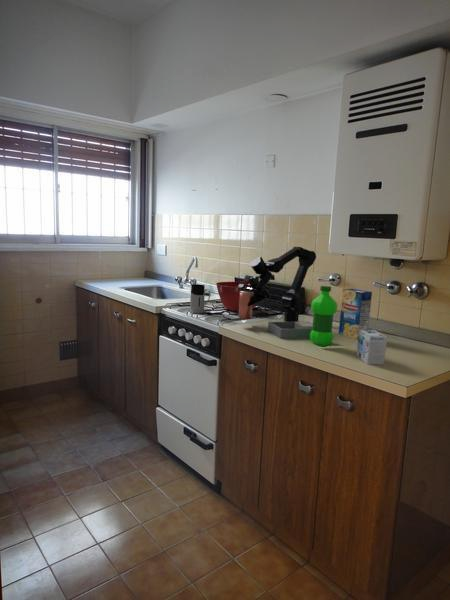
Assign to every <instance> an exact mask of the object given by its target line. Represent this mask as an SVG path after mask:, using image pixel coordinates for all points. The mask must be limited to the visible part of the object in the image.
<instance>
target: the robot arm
mask: <svg viewBox="0 0 450 600" xmlns="http://www.w3.org/2000/svg"><path fill="white" fill-rule="evenodd" d="M296 258H298V265H299V266H298V267H297V271H296V273H295V275H294V278H293V281H292V284H291V286H290V288H289V290H288V291H285V292H284V293H283V296H282V298H281V299H282V300H281V304H282V306H283V310H285V312H284V318H283V322H300V321H299V316H300V315H299V314H300V312H302V310H303V306H302V304H301V303H300V299H301V298H300V292H301V289H302V286H303V283H304V281H305V278H306V275H307V273H308V270H309V268H310V267H312V265H314V264H315V261H316V259H317V255H316V252H315V251H314V250H308V249H307V248H303V247H302V246H294V247H292V248H291V249H290V250H288V251H287V252H285V253H283V254H282V255H280V256H279V257H275V258H271V259H268V260H267V261H266V262H265V260H264V258H263V257H262V256H258V257H257V258H254V259H253V260H251V261H250V263H249V267H251V269H253V271H254V273H255V275H254V276H252V275H247V274H245V276H244V278H243V282H246V283H248V286H250V288H248V286H247V285H246V284H240V285H239V286H238V288H239V289H240V291H241V290H249V291H253V293H254V296H253V297H252V299H251V300H250V302H249V303H248V306H251V305H253V304H255V303H257V304H258V303H259V302H262V301H264V300H266V301H269V299H270V298H271V294H270V292H269V291H268V290H267V287H268V286H267V284H268V283H269V282H270V281H275V280H276V279H275V278H276V277H275V274H273V273H276V274H278V273H279V272H280V271H282V270H283V269H284V267H285V266H286V265H287V264H288V263H290V262H291V261H292V260H294V259H296ZM257 275H258V276H257Z"/></svg>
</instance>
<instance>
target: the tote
mask: <svg viewBox="0 0 450 600" xmlns="http://www.w3.org/2000/svg"><path fill="white" fill-rule="evenodd" d="M308 322H309V323H311V324H313V322H310V321H308ZM267 325H268V326H267V331H268V332H269V333H271V334H273V335H275V336H276V337H278V338H279V339H282V340H283V339H310V332H311V331H312V329H313V328H307V329H294V328H295V322H286V321H268V323H267Z"/></svg>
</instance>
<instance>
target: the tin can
mask: <svg viewBox="0 0 450 600" xmlns="http://www.w3.org/2000/svg"><path fill="white" fill-rule="evenodd" d="M252 297H253V291H249V290H241V291H240V299H239V311H238V318H239V319H241V320H252V318H253V309H252V306H253V305H251V306H248V303H249V302H250V300H251V299H252Z"/></svg>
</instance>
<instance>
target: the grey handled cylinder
mask: <svg viewBox="0 0 450 600" xmlns="http://www.w3.org/2000/svg"><path fill="white" fill-rule="evenodd" d="M205 287H206V286H205V284H201V283H200V284H198V283H197V284H194V283H193V284H191V285H190V302H189V303H190V304H189V312H190V313H193V314H202V313H205V306H207V304H208V303H209V301H210V299H211V291H210V290H209V289H207V288H205ZM206 291H208V299H207V301H206V303H205V297H206Z"/></svg>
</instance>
